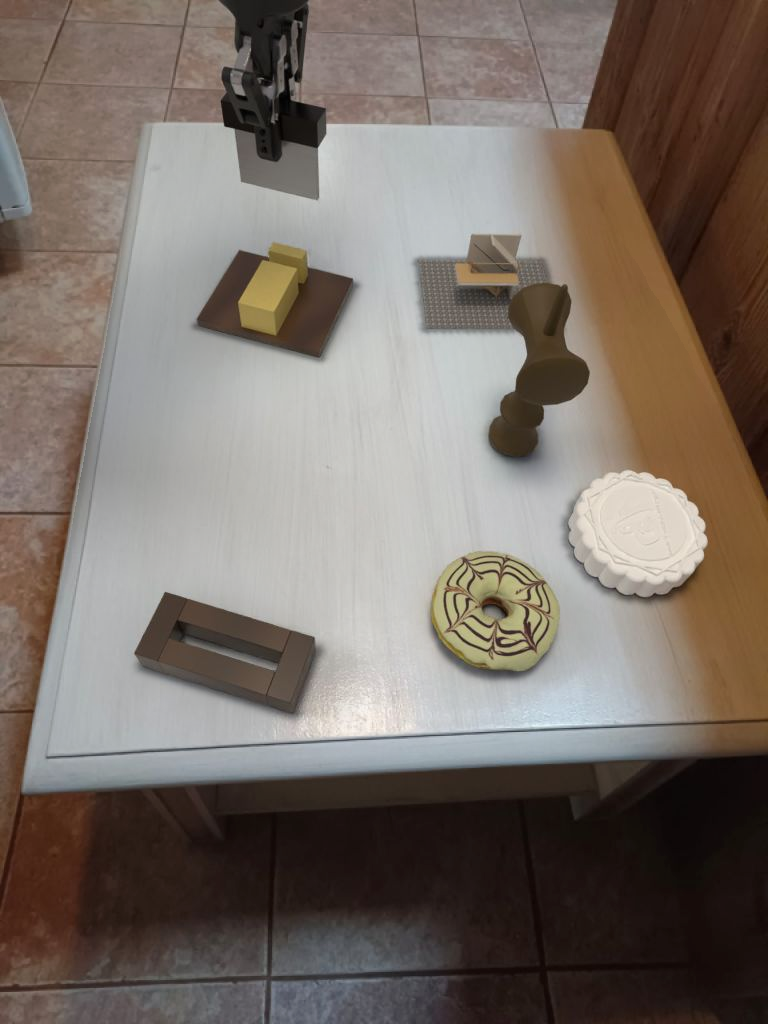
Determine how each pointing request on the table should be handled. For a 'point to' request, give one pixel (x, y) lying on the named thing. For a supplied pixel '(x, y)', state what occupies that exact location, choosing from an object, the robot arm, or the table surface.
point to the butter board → (305, 318)
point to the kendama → (538, 367)
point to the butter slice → (290, 258)
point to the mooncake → (637, 533)
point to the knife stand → (222, 671)
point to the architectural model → (477, 284)
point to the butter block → (268, 297)
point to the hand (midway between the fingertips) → (275, 148)
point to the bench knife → (299, 148)
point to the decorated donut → (483, 636)
